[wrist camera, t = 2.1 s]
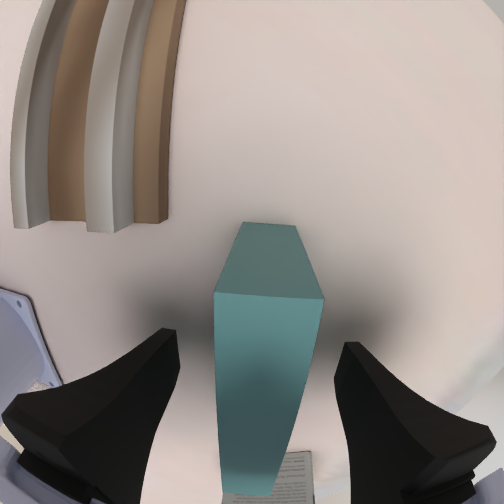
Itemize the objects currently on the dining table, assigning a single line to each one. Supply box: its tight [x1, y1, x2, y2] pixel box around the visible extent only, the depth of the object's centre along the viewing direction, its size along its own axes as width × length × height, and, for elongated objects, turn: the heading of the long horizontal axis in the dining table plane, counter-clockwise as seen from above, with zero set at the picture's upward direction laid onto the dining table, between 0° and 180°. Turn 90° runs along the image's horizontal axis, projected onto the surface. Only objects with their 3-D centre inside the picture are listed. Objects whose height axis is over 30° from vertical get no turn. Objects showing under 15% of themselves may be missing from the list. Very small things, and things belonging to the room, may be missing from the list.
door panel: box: [214, 222, 324, 496], centre depth 9 cm, size 2×10×6 cm, turn 177°
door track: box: [10, 0, 186, 233], centre depth 7 cm, size 8×18×2 cm, turn 177°
